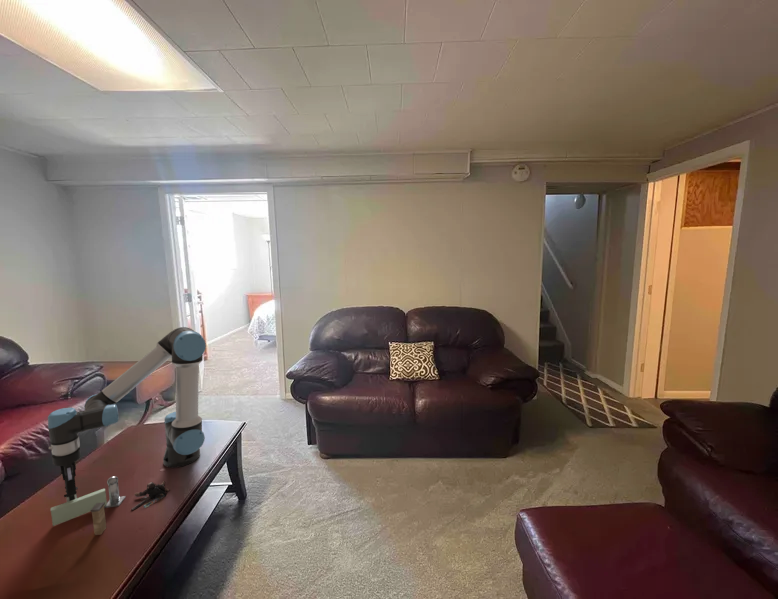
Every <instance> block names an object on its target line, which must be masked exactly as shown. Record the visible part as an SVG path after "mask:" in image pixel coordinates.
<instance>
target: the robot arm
mask: <svg viewBox="0 0 778 599" xmlns="http://www.w3.org/2000/svg"><path fill="white" fill-rule="evenodd" d="M206 348H207V345H206V340H205V339H204V337H203V335H201V334H200V333H199V332H197V331H195V330H194V329H192V328H190V327H186V326H182V327H177V328H174V329H172V331H170V332H169V333H167V334H166V335H165V336H163V337H162V338H161V339H160V340H158V342H156V346H155V347H154V348H153V349H151V350H150V351H148V353H146V354H145V355H144V356H142V358H140V359H139V360H138V361H136V363H134V364H133V365H131V367H129V368H128V369H126V370H125V371H124V372H123V373H122V374H121V375H119V376H118V377H116V379H114V380H113V381H112V382H111V383H110V384H108V385H107V386H106V387H104V388H103V389H102V390H101V391H99V392H98V393H96V394H93V395H90V396H89V397H87V399H86V400H85V403H84V410H81V411H78V410H76V408H75V407H63V408H59V409H56V410H54V411H52V412H50V413H49V414H48V416H47V429H48V435H49V436H48V437H49V443H50V446H48V450H51V459H52V465H53V466H55V467H60V474H62V481H64V489H65V494H64V495H63V497H64V498H66V502H69V501H71V500H74V499H77V498H78V497H77V494H78V493H77V491H78V486H76V476H77V474H76V470H77V466H76V462H77V461H78V460H79V459H81V456H82V454H81V453H82V452H81V448H80V446H81V443H80V436H79V433H83V432H87V431H92V430H94V429H99V428H103V427H108V426H110V425H114V424H116V423H118V422H119V420H120V419H119V411H118V405H117V403H118V402H119V401H121V399H123V398H124V397H125V396H126V395H128V394H129V393H130V392H131V391H132V390H134V389H135V388H136V387H137V386H138V385H139V384H141V383H142V382H144V380H145V379H147V378H148V377H149V376H150V375H151V374H153V373H154V372H155V371H156V370H157V369H159V368H160V367H161V366H163V364H165V363H166V362H167V361H169V359H171V363H172V364H173V365H174V366H175V411H174V412H171V413H168V414H167V415H166V416H164V422H163V423H164V432H165V443H166V447H165V451H164V454H163V457H162V458H163V459H162V461H163V465H164V466H165V467H166V468H181V467H184V466H187V465H189V464H192V463H193V462H195V461H197V460H198V459H199V458H200V455H201V447H202V446H203V445H204V442H205V438H206V437H205V433H204V432H203V418H202V417H201V416H200V415H199V374H200V371H199V366H200V363H201V362H203V359H204V358H203V356H204V354H205V351H206Z"/></svg>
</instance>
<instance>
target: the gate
mask: <svg viewBox="0 0 778 599" xmlns="http://www.w3.org/2000/svg"><path fill="white" fill-rule="evenodd" d="M102 502H105V505H107V502H108V501H107V493H106V488H101V489H99V490H95V491H94V492H91V493H88V494H85V495H83V496H80V497H77V499H74V500H71V501H69V502H67V501H66V502H64V503H61V504H59V505H58V504H57V505H55V506H52V507H50V515H51V523H52V527H54V526H57V525H60V524H63V523H65V522H68V521H70V520H72V519H75V518H77V517H80V516H83V515H85V514H87V513H91V509H92V508H93V507H94V506H95V505H96V503H102ZM105 505H104V506H105Z"/></svg>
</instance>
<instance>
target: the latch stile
mask: <svg viewBox="0 0 778 599" xmlns="http://www.w3.org/2000/svg"><path fill="white" fill-rule="evenodd" d="M104 505H105V502H102V503H96V505H95V506H94V507H93V508H92V509H91V511H90V513H91V515H92V516H91V517H92V522H93V523H92V524H93V525H92V526H93V532H94V536H99V535H102V534H103V533H104V532H105V530H106V528H107V523H106V522H107V521H106V514H105V508H104Z"/></svg>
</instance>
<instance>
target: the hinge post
mask: <svg viewBox="0 0 778 599" xmlns="http://www.w3.org/2000/svg"><path fill="white" fill-rule="evenodd" d="M106 483H107V486H108V497H109V500H108V501H107V505H105V506H104V509H107V508H116V507H120V505H121V504H122V503H123V501H124V500H126V495H122V496H120V488H119V477H118V476H116V475H114V476H110V477H109V478H108V479H107V481H106Z"/></svg>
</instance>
